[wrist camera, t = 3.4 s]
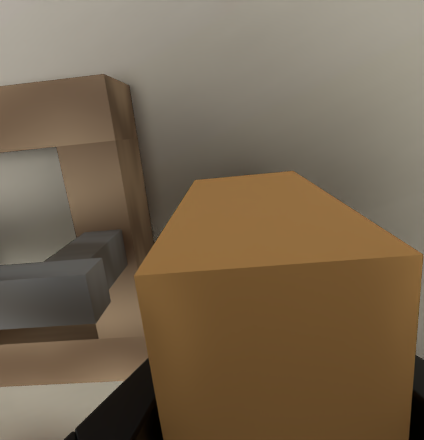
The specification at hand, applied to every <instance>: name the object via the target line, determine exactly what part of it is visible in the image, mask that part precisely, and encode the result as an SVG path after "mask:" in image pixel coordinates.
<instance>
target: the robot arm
mask: <svg viewBox="0 0 424 440" xmlns="http://www.w3.org/2000/svg"><path fill="white" fill-rule="evenodd" d="M64 440H163V435H162V430H161V424H160V419H159V413H158V408H157V402H156V397H155V391H154V386H153V380H152V374H151V369H150V363H149V358H147V359H146V360H145V361H144V362H143V363H142V364H141V365H140V366H139V367H138V368H137V369H136V370H135V371H134V372H133V373H132V374H131V375H130V376H129V377H128V378H127V379H126V380H125V381H124V382H123V383H122V384H121V385H120V386H119V387H118V388H117V389H116V390H115V391H113V392H112V393H111V394H110V395H109V396H108V397H107V398H106V399H105V400H104V401H103V402H102V403H101V404H100V405H99V406H98V407H97V408H96V409H95V410H94V411H93V412H92V413H91V414H90V415H89V416H88V417H87V418H86V419H85V420H84V421H83V422H82V423H81V424H80V425H79V426H78V427H77V428H76V429H75V432H71V433H70V434H69V435H68V436H67V437H66V438H65V439H64ZM409 440H424V360H423V359H422V358H420V357H418V356H416V355H415V366H414V379H413V391H412V404H411V417H410V429H409Z"/></svg>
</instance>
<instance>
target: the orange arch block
mask: <svg viewBox="0 0 424 440" xmlns="http://www.w3.org/2000/svg"><path fill="white" fill-rule="evenodd" d="M422 265H423V254H422V253H420V252H418V251H417V250H415V249H414V248H412V247H411V246H409V245H408V244H406V243H404V242H403V241H401V240H400V239H398V238H397V237H395V236H394V235H392V234H391V233H389V232H387V231H386V230H384V229H383V228H381V227H380V226H378V225H377V224H375V223H373V222H372V221H370V220H369V219H367V218H366V217H364V216H363V215H361V214H359V213H358V212H356V211H355V210H353V209H352V208H350V207H349V206H347V205H345V204H344V203H342V202H341V201H339V200H338V199H336V198H335V197H333V196H331V195H330V194H328V193H327V192H325V191H324V190H322V189H321V188H319V187H317V186H316V185H314V184H313V183H311V182H310V181H308V180H307V179H305V178H304V177H302V176H300V175H299V174H297V173H296V172H294V171H287V172H276V173H265V174H255V175H244V176H233V177H223V178H212V179H201V180H195V181H194V182H193V184H192V185H191V187H190V188H189V190H188V192H187V193H186V195H185V196H184V198H183V199H182V201H181V203H180V204H179V206H178V207H177V209H176V210H175V212H174V214H173V215H172V217H171V218H170V220H169V221H168V223H167V225H166V226H165V228H164V229H163V231H162V232H161V234H160V235H159V237H158V239H157V240H156V242H155V243H154V245H153V246H152V248H151V250H150V251H149V253H148V254H147V256H146V257H145V259H144V261H143V262H142V264H141V265H140V267H139V268H138V270H137V271H136V273H135V275H134V280H135V286H136V291H137V297H138V302H139V308H140V313H141V319H142V325H143V330H144V336H145V341H146V347H147V352H148V358H149V363H150V369H151V374H152V380H153V386H154V391H155V397H156V402H157V408H158V413H159V419H160V424H161V430H162V435H163V440H409V429H410V417H411V404H412V391H413V379H414V366H415V354H416V341H417V328H418V316H419V303H420V290H421V278H422Z"/></svg>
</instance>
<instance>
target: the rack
mask: <svg viewBox="0 0 424 440" xmlns="http://www.w3.org/2000/svg"><path fill="white" fill-rule="evenodd" d="M50 147H56V148H57V152H58V157H59V161H60V166H61V170H62V175H63V179H64V184H65V188H66V193H67V197H68V202H69V206H70V211H71V215H72V220H73V224H74V229H75V233H76V239H75V240H73V241H72V242H70V243H69V244H68V245H66V246H65V247H63V248H62V249H61V250H59V251H58V252H56V253H55V254H54V255H52V256H51V257H49V258H48V259H47V260H45V261H44V262H38V263H25V264H12V265H0V387H6V386H27V385H47V384H68V383H89V382H109V381H125V380H126V379H127V378H128V377H129V376H130V375H131V374H132V373H133V372H134V371H135V370H136V369H137V368H138V367H139V366H140V365H141V364H142V363H143V362H144V361H145V360H146V359H147V358H148V352H147V347H146V341H145V336H144V330H143V325H142V319H141V313H140V308H139V302H138V297H137V291H136V286H135V280H134V275H135V273H136V271H137V270H138V268H139V267H140V265H141V264H142V262H143V261H144V259H145V257H146V256H147V254H148V253H149V251H150V250H151V248H152V246H153V245H154V241H153V235H152V228H151V222H150V215H149V209H148V203H147V196H146V190H145V183H144V177H143V171H142V164H141V158H140V151H139V145H138V138H137V132H136V126H135V119H134V113H133V106H132V100H131V94H130V87H129V85H127V84H125V83H123V82H120V81H118V80H116V79H114V78H112V77H109V76H107V75H105V74H100V75H91V76H83V77H75V78H66V79H58V80H50V81H41V82H33V83H25V84H16V85H8V86H0V153H2V152H11V151H21V150H30V149H40V148H50Z"/></svg>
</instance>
